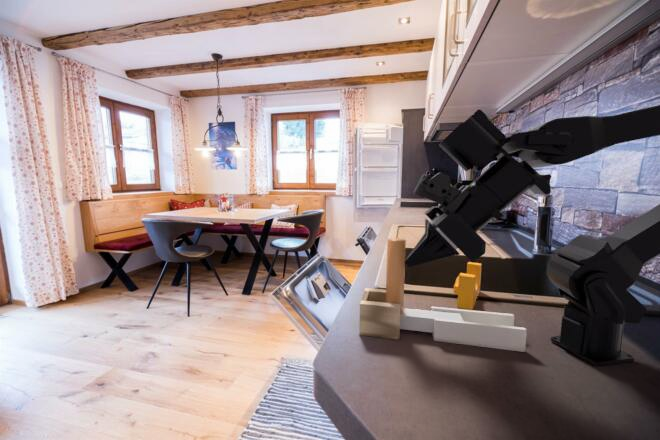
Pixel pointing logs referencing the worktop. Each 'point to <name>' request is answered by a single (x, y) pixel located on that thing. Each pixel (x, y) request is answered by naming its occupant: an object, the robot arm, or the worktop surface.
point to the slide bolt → (395, 292)
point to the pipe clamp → (468, 286)
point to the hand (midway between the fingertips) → (406, 264)
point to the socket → (379, 315)
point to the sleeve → (480, 329)
